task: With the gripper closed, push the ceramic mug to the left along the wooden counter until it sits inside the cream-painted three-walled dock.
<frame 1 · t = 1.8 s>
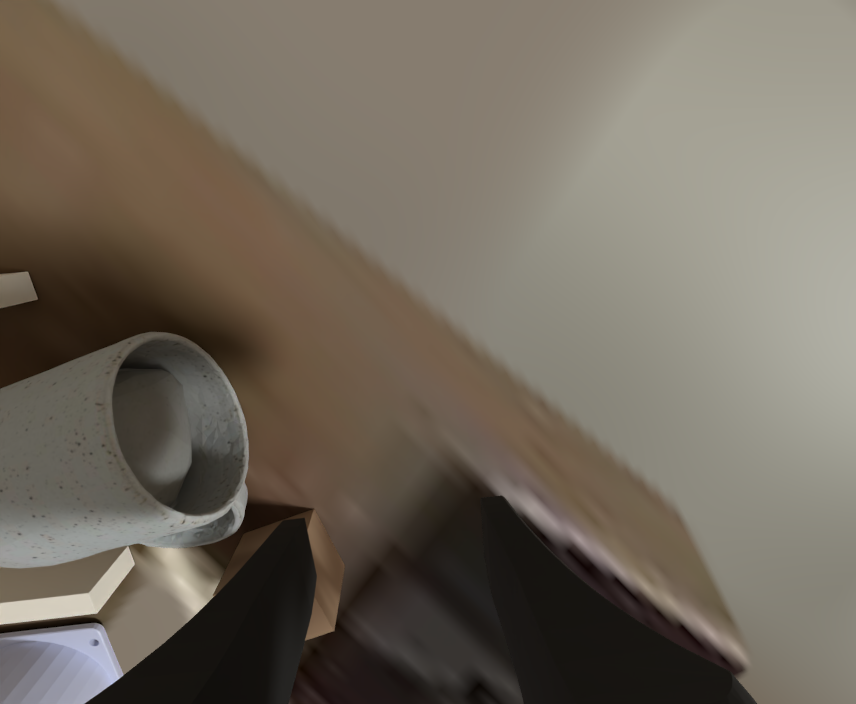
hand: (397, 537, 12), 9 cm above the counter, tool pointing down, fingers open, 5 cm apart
ceramic mug: (177, 431, 21), on the counter
walnut block: (295, 549, 24), on the counter
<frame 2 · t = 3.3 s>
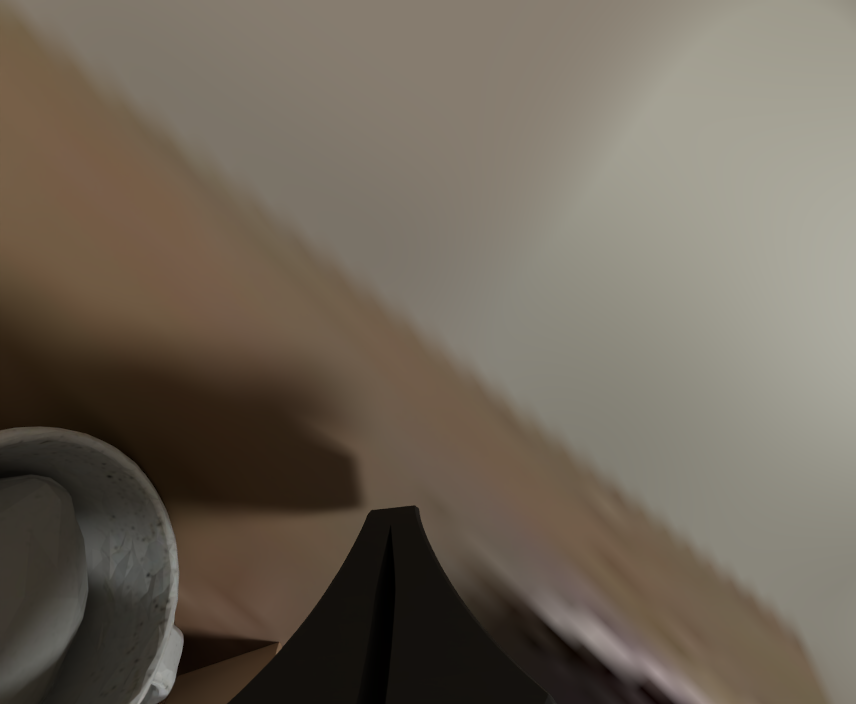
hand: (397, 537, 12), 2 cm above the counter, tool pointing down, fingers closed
ceramic mug: (79, 548, 14), on the counter
walnut block: (254, 693, 17), on the counter
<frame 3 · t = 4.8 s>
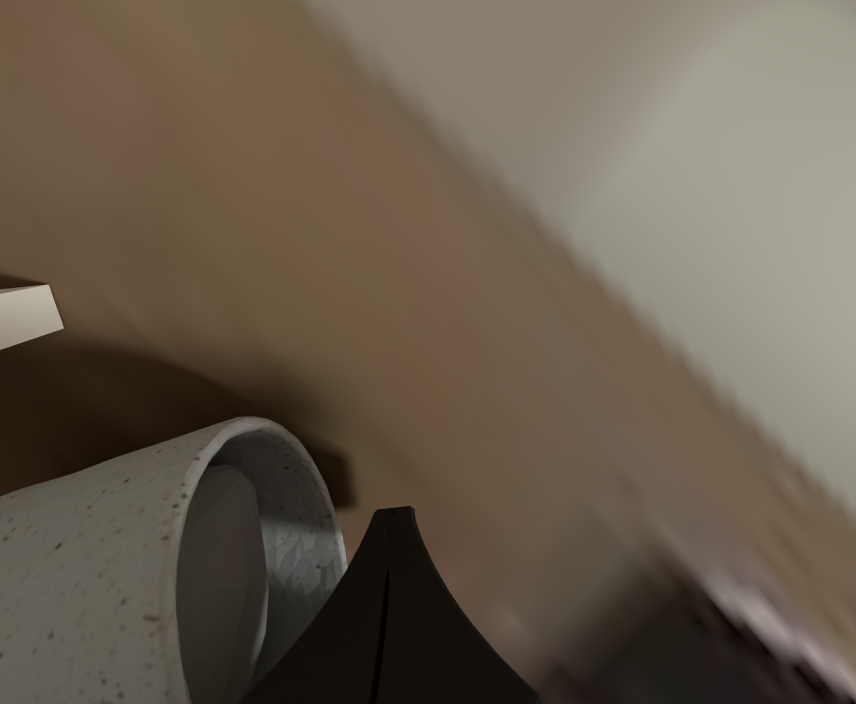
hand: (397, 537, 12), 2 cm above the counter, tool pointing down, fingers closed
ceramic mug: (235, 538, 15), on the counter, touching gripper
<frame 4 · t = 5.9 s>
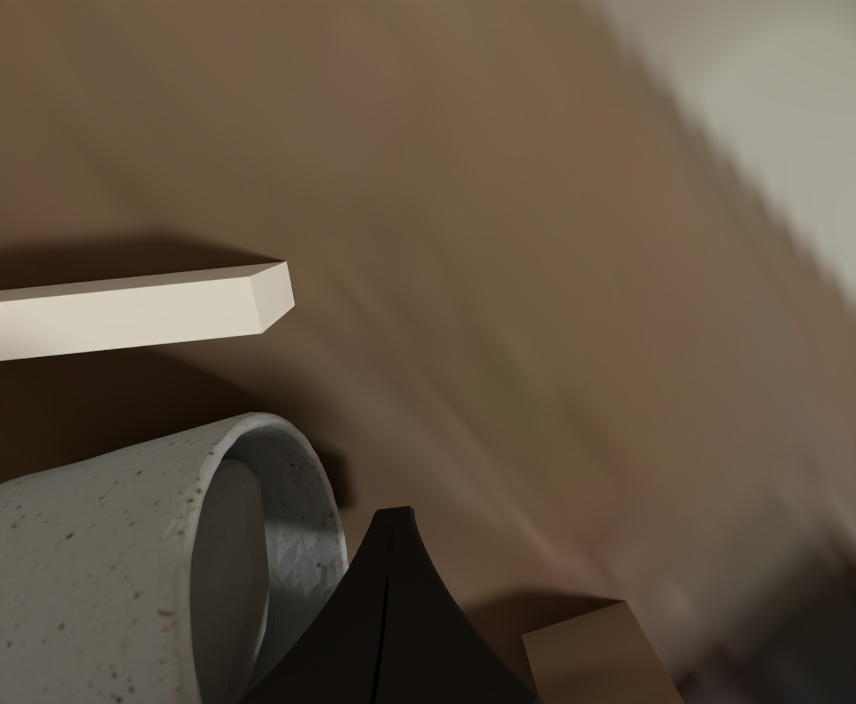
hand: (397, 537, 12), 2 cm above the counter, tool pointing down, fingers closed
ceramic mug: (236, 533, 14), on the counter, touching gripper
walnut block: (585, 653, 17), on the counter
dock: (92, 531, 14), on the counter
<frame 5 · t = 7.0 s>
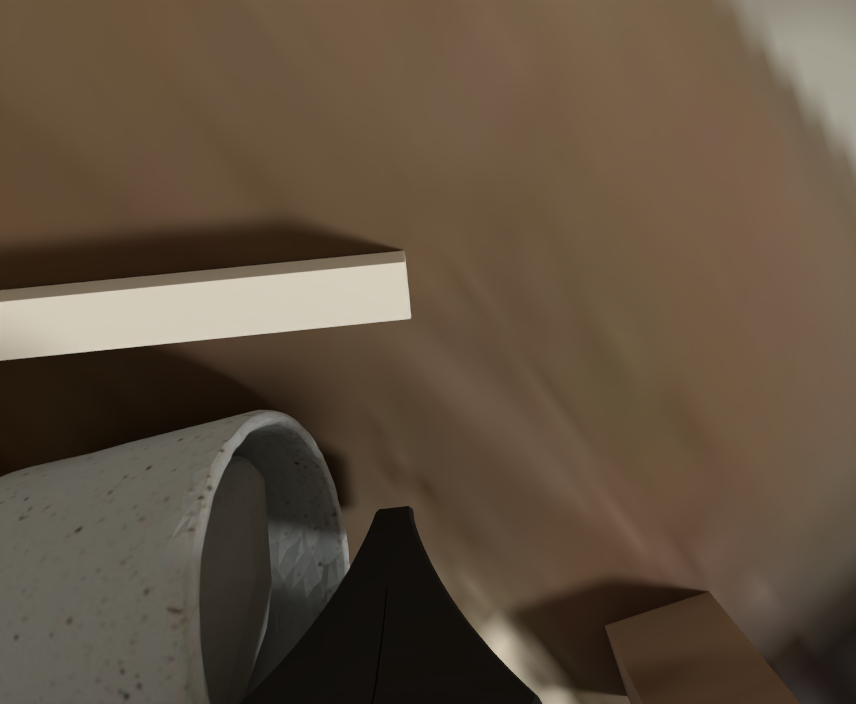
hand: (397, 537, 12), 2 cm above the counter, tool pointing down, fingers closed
ceramic mug: (237, 530, 14), on the counter, touching gripper
walnut block: (665, 644, 17), on the counter
dock: (193, 519, 14), on the counter
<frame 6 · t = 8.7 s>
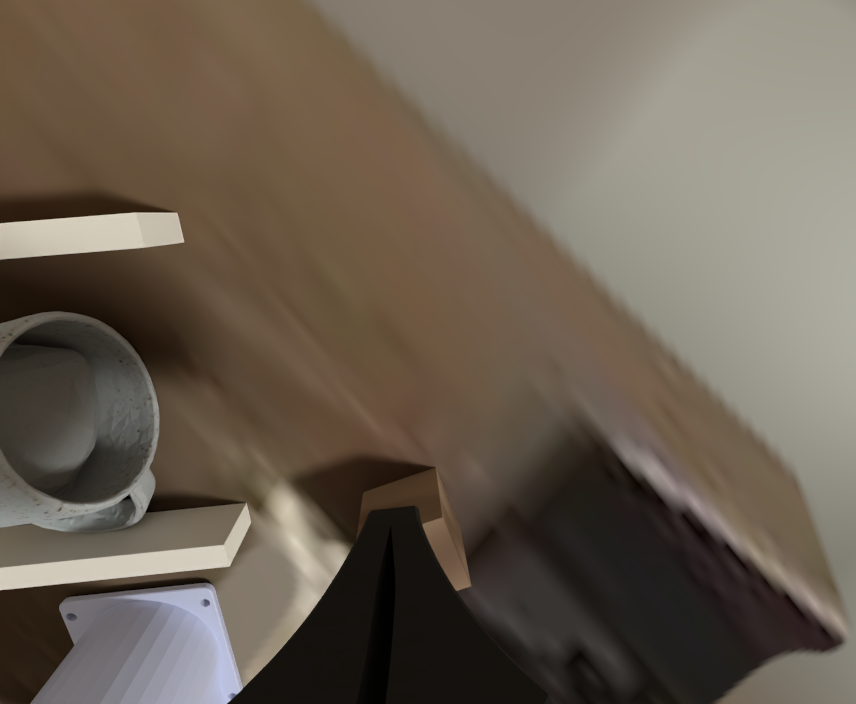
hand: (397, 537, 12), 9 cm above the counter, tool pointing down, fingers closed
ceramic mug: (90, 413, 21), on the counter
walnut block: (412, 509, 23), on the counter
dock: (52, 400, 20), on the counter
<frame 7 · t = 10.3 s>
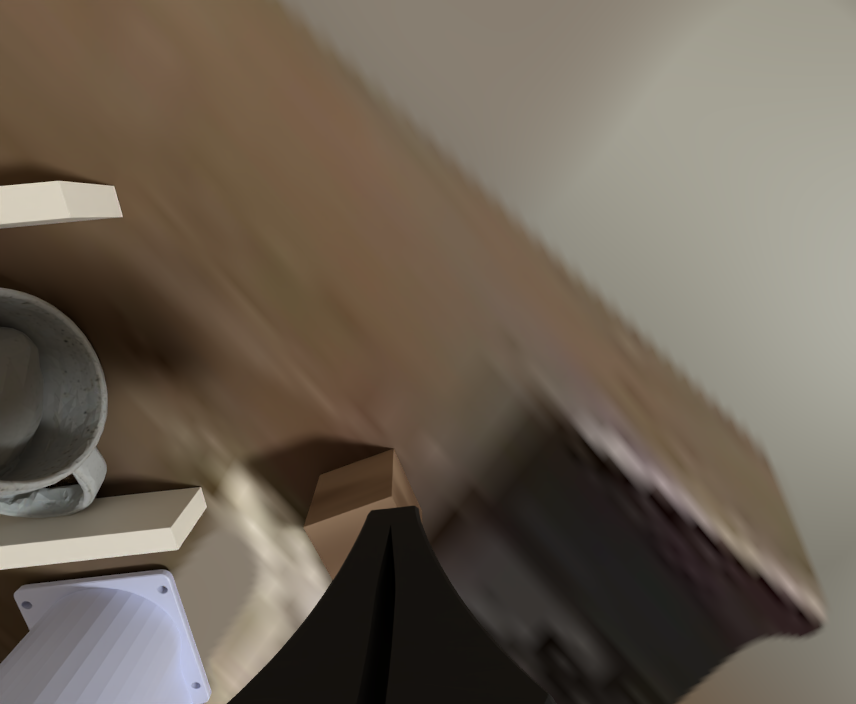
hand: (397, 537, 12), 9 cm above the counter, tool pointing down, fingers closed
ceramic mug: (38, 396, 21), on the counter, touching dock
walnut block: (372, 492, 23), on the counter
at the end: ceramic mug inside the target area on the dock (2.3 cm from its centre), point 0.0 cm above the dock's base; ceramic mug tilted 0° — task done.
